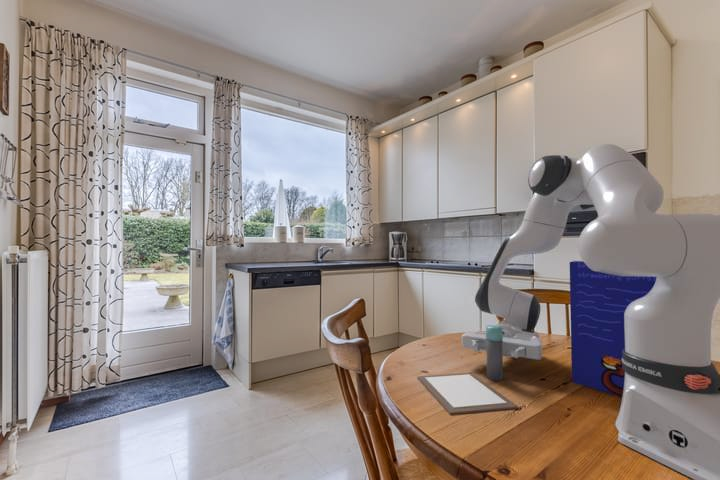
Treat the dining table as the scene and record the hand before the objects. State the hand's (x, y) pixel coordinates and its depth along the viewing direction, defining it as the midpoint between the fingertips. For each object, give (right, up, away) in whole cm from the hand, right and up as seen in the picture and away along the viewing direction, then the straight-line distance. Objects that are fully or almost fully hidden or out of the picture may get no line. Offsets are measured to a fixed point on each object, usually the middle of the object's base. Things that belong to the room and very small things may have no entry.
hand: (493, 351), depth 84 cm
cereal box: (+27, -7, -9) cm, 30 cm away
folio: (-10, -7, -8) cm, 15 cm away
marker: (0, -7, 0) cm, 7 cm away
